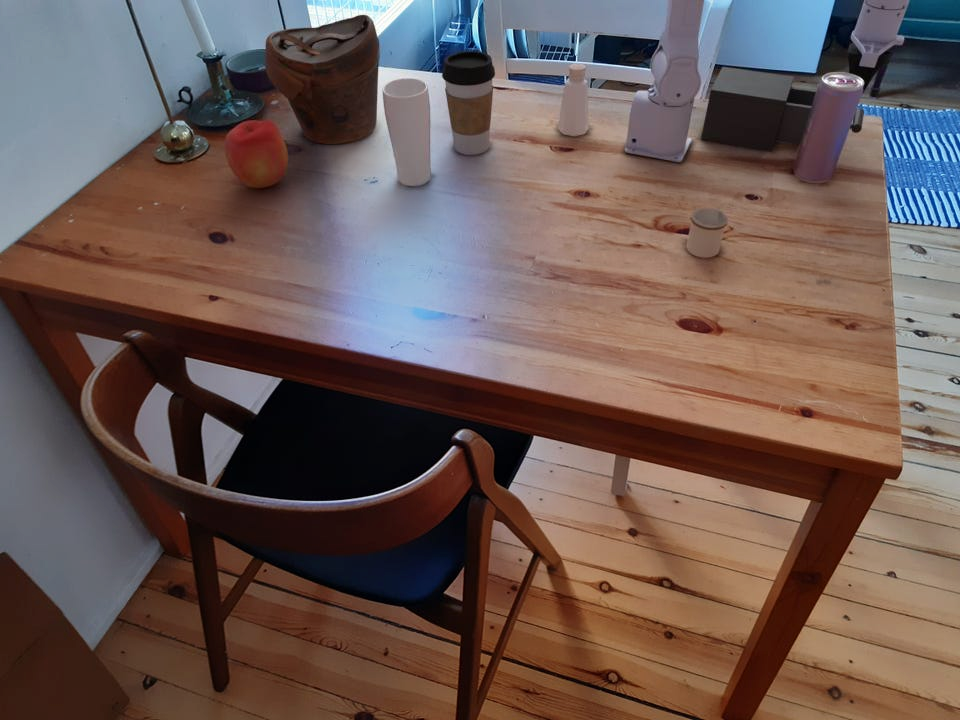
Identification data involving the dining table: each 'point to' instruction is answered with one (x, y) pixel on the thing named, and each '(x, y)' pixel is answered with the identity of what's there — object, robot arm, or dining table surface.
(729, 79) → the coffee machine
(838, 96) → the beverage can
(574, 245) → the dining table surface
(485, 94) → the coffee cup
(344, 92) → the case
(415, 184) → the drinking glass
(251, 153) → the apple
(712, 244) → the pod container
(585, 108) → the pepper shaker
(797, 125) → the drawer
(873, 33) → the robot arm
